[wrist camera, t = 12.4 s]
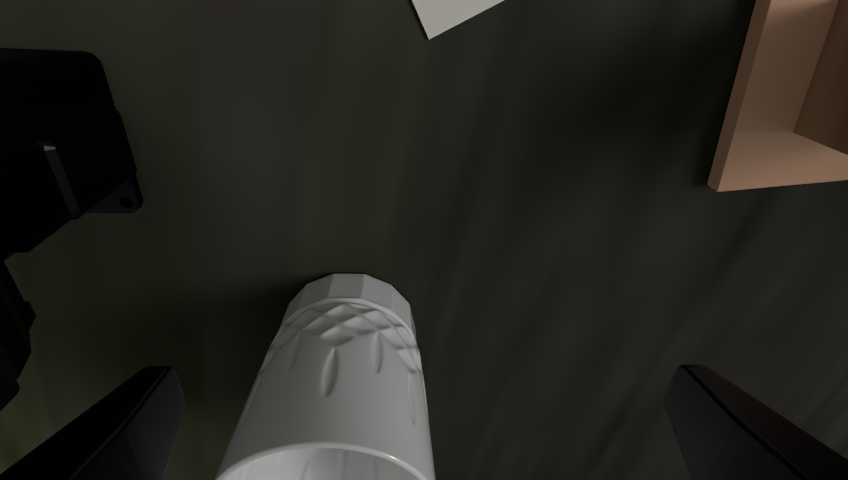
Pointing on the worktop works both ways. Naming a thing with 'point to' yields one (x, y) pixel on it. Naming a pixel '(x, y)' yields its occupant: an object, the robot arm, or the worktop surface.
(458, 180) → the worktop surface
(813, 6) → the plate
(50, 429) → the worktop surface
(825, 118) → the walnut block
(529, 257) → the worktop surface
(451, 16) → the letter
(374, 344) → the white cup
